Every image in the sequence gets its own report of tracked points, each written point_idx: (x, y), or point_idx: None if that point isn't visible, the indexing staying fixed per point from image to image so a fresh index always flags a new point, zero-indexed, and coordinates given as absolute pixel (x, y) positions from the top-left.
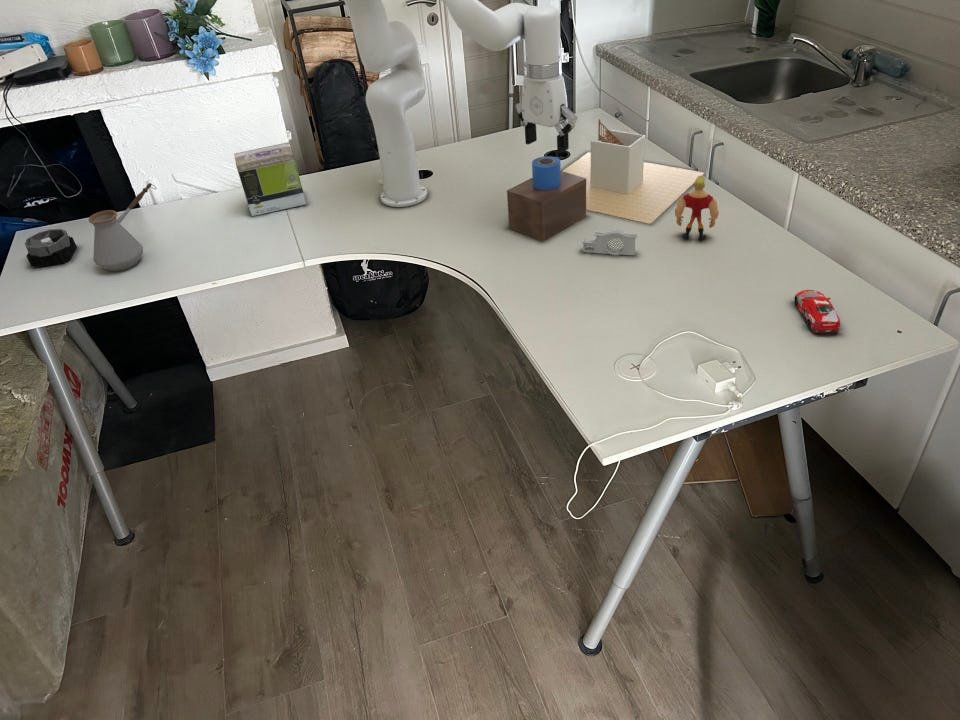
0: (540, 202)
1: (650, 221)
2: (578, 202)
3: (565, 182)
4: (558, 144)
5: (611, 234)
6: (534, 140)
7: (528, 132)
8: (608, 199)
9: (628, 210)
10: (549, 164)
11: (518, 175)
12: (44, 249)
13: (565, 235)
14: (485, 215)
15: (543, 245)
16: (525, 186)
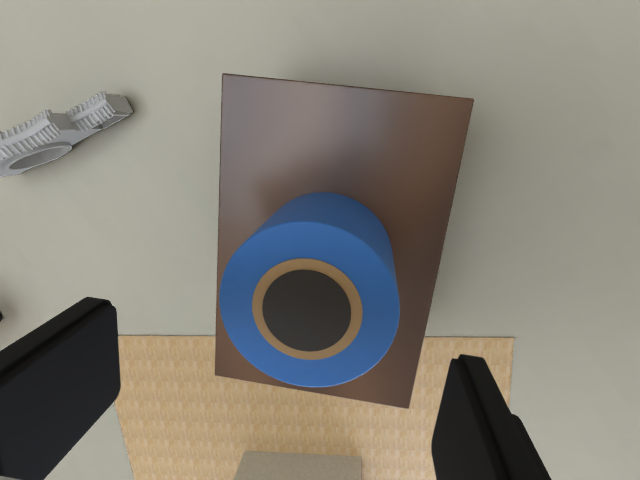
0: (230, 74)
1: None
2: None
3: None
4: (38, 332)
5: (2, 135)
6: (437, 430)
7: (477, 449)
8: (271, 411)
9: (187, 376)
10: (259, 282)
11: (630, 452)
12: None
13: None
14: (586, 148)
15: (257, 68)
16: (405, 189)
